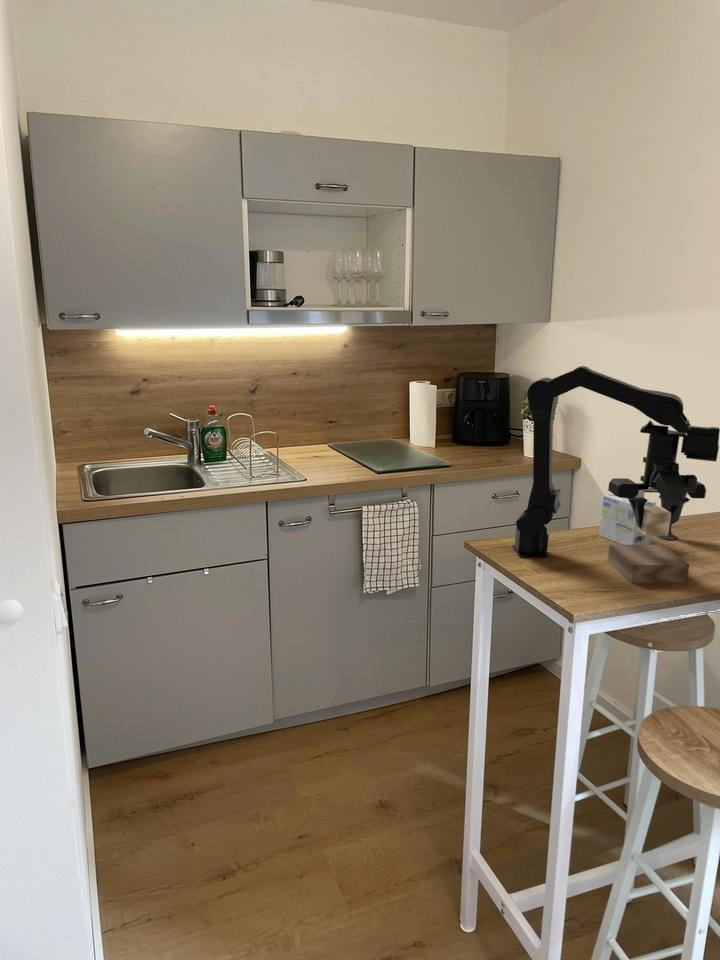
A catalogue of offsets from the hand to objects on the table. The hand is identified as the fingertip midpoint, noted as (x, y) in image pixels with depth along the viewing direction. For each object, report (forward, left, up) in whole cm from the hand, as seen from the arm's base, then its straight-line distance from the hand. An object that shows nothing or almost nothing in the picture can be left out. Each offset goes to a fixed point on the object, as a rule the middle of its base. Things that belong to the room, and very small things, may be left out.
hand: (651, 527), depth 154 cm
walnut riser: (0, 0, -10) cm, 10 cm away
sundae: (+16, +22, -10) cm, 29 cm away
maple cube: (0, 0, -1) cm, 1 cm away
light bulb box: (+4, +20, -10) cm, 23 cm away
